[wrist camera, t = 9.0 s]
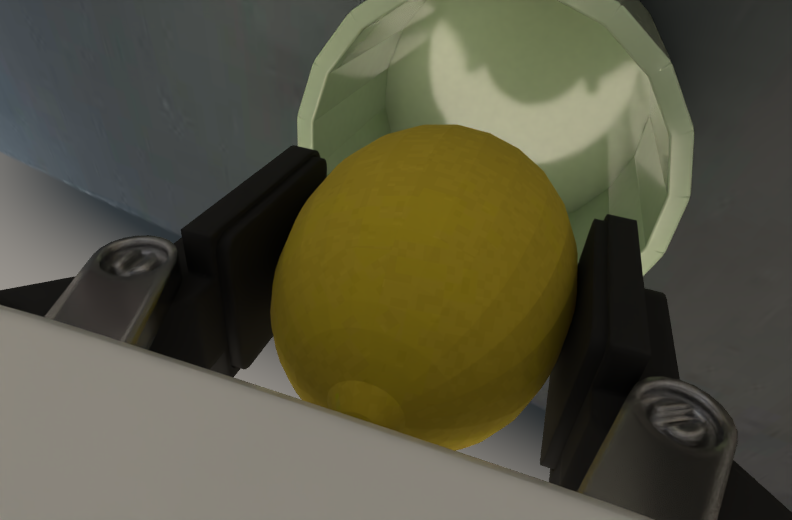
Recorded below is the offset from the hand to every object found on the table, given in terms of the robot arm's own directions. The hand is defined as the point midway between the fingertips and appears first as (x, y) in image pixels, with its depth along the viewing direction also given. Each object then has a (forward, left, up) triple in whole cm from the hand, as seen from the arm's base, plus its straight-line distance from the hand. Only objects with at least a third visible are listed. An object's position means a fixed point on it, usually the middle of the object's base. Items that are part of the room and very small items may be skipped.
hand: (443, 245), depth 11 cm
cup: (0, 0, -10) cm, 10 cm away
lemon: (0, 0, -3) cm, 3 cm away
